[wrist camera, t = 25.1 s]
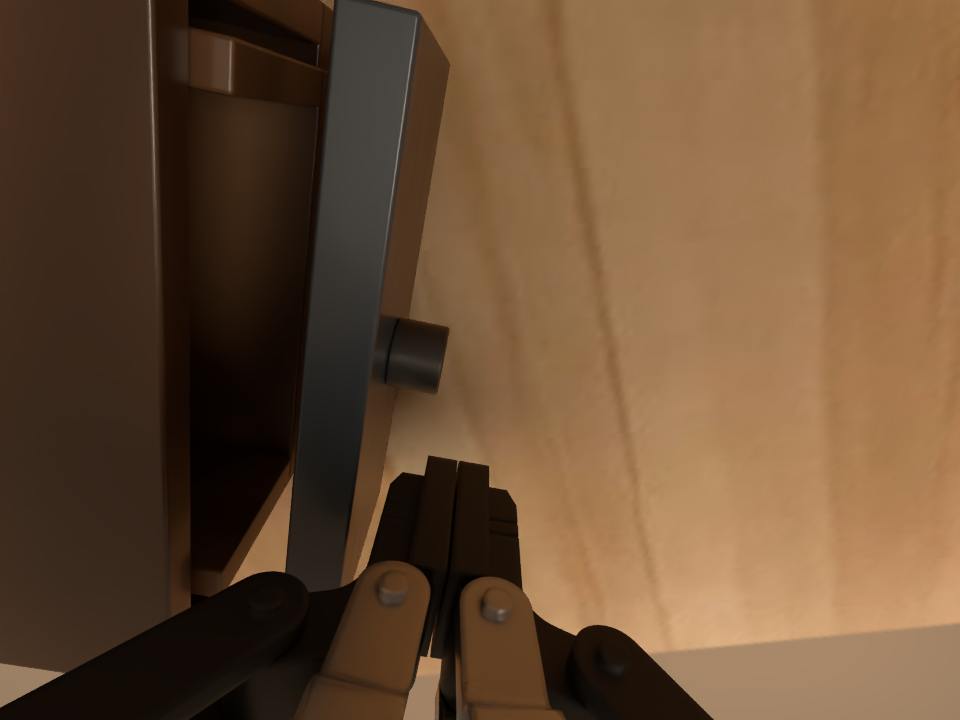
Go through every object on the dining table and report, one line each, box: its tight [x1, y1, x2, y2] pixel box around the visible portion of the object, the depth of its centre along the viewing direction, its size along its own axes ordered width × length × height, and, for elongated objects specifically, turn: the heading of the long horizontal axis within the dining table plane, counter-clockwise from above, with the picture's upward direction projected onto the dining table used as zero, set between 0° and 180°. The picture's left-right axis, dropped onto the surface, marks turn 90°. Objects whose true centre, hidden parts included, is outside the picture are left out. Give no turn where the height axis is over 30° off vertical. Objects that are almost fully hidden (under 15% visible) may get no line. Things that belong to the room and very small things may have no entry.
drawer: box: [188, 0, 450, 597], centre depth 12 cm, size 15×13×6 cm
